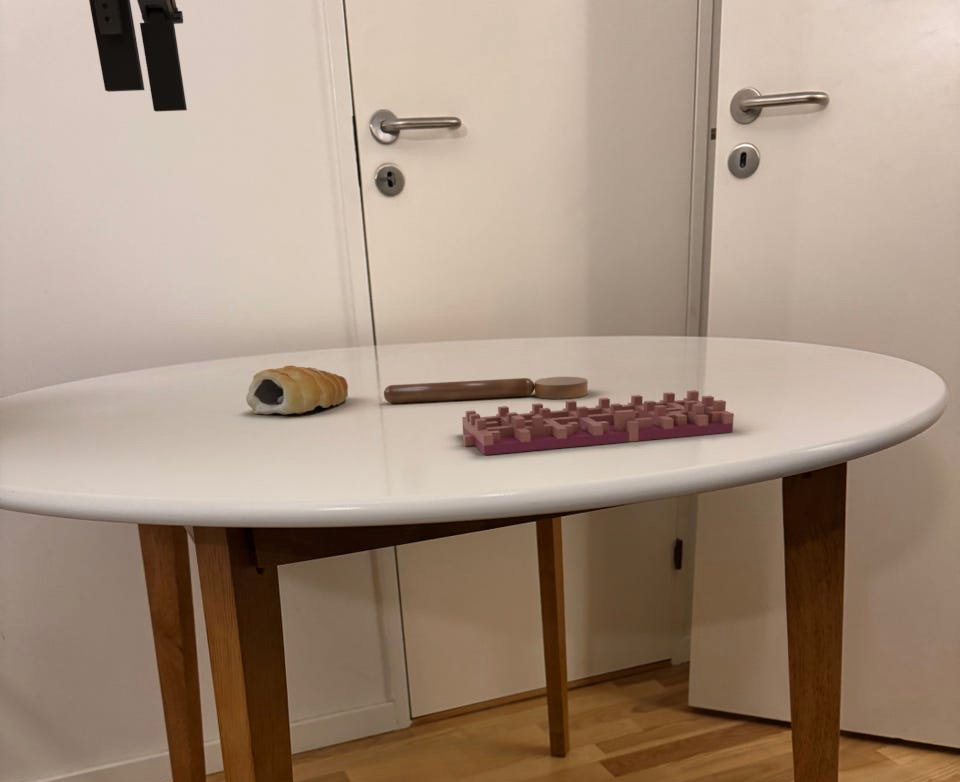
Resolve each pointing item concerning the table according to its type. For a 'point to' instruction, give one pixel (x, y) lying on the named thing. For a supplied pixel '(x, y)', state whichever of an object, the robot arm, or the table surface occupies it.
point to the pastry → (295, 390)
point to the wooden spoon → (488, 389)
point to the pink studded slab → (596, 424)
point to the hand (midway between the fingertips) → (149, 101)
